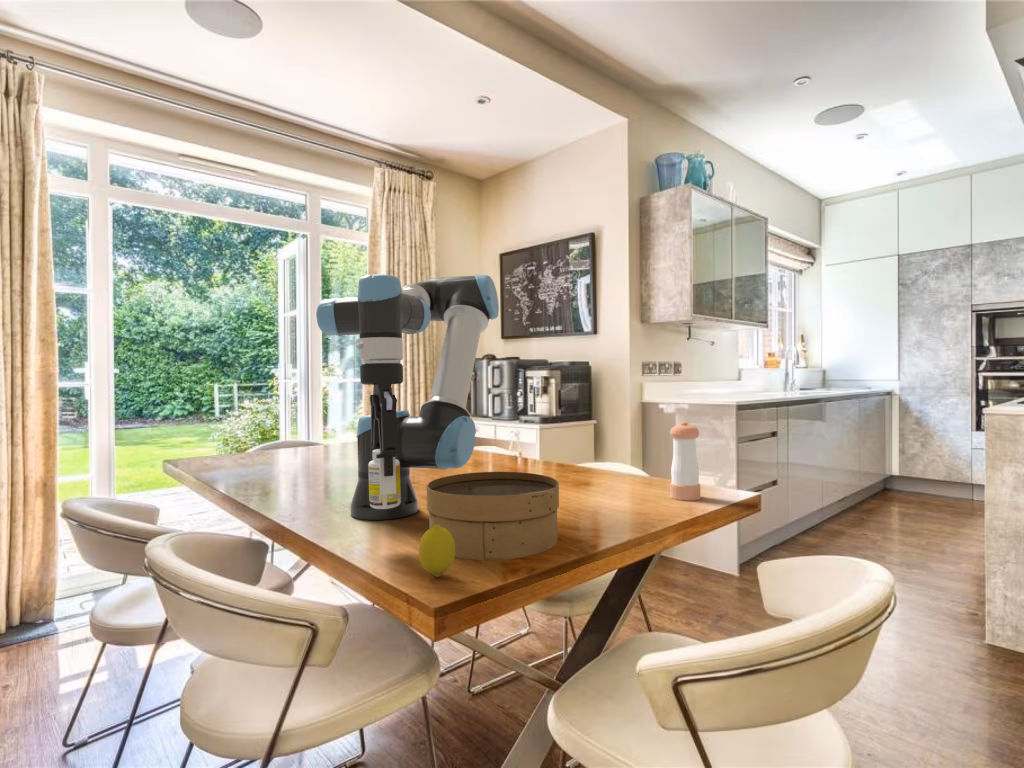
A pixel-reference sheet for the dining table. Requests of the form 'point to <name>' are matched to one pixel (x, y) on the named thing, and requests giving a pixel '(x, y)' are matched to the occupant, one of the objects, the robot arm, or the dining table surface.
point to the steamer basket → (496, 513)
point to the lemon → (437, 550)
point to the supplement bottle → (374, 486)
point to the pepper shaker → (684, 463)
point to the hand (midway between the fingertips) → (384, 490)
